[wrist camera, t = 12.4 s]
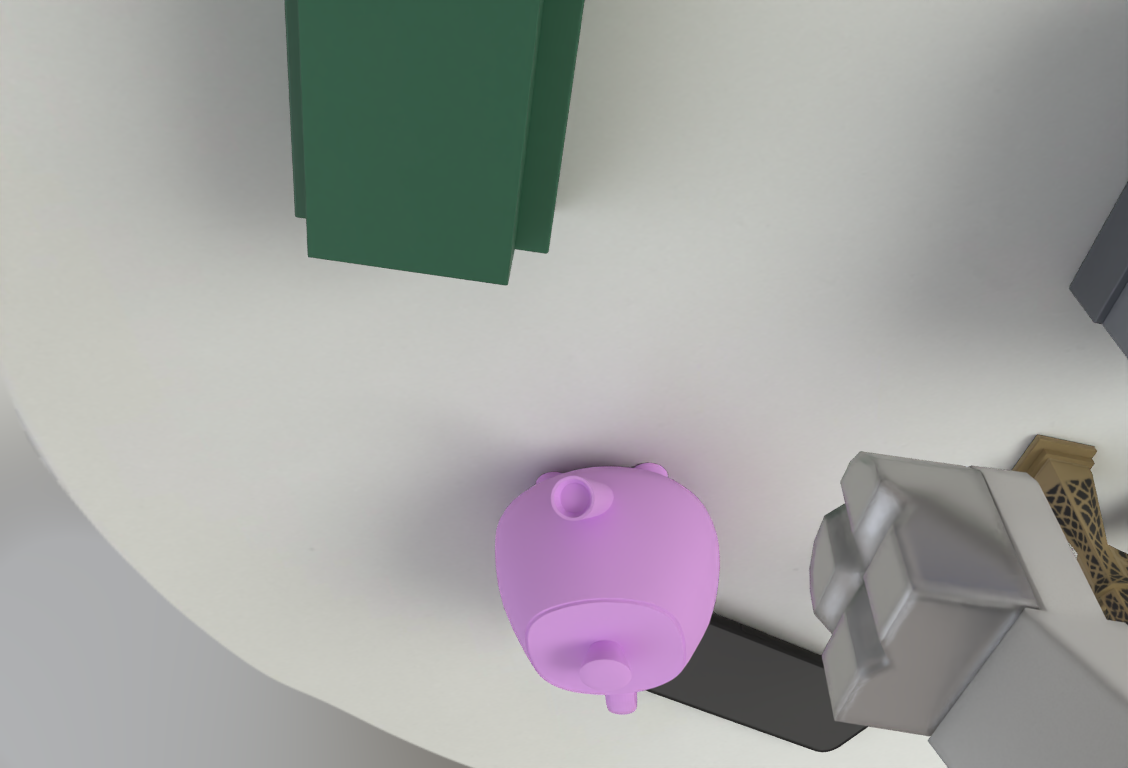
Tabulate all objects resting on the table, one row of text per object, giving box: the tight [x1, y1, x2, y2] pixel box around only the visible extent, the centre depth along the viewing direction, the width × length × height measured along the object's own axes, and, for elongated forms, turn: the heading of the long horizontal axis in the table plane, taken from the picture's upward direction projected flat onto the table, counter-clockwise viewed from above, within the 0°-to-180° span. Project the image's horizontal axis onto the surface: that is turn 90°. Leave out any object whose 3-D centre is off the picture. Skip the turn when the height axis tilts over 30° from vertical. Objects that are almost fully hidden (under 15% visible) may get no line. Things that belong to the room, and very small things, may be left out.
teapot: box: [495, 463, 720, 714], centre depth 41 cm, size 10×15×9 cm
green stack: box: [285, 0, 585, 254], centre depth 29 cm, size 14×9×4 cm, turn 172°
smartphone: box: [646, 613, 868, 752], centre depth 52 cm, size 7×1×15 cm
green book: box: [297, 0, 544, 285], centre depth 27 cm, size 13×6×2 cm, turn 172°
